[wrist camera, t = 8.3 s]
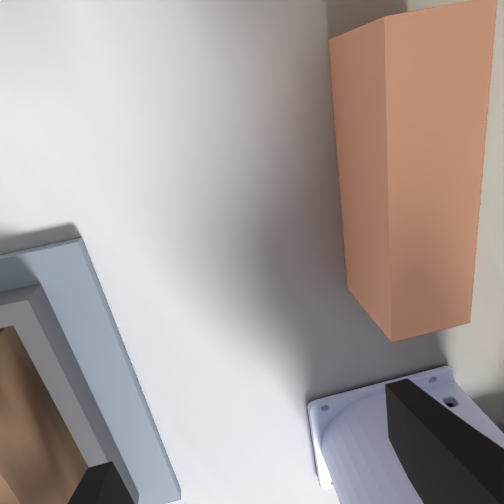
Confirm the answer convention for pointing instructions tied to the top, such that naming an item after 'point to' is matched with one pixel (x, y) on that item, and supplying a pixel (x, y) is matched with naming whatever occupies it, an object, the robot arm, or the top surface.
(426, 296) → the salmon pink cuboid
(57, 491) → the tan notched block
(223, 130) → the top surface
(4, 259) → the jig
